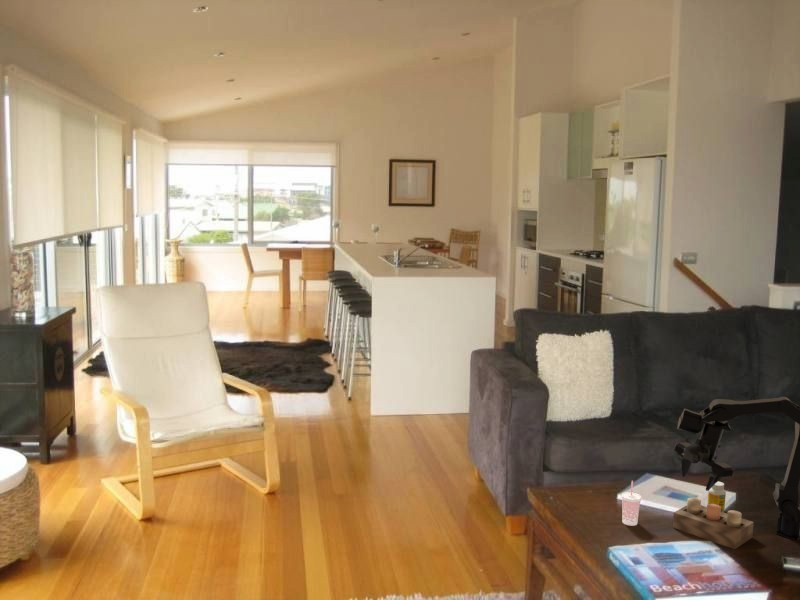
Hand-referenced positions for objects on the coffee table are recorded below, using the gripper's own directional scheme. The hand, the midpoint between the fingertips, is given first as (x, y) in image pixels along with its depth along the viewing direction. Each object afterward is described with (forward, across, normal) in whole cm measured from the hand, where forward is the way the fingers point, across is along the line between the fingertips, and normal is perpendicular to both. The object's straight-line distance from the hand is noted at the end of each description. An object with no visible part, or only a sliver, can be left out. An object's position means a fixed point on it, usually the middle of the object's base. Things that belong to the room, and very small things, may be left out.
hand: (695, 483), depth 256 cm
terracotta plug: (+8, +9, +1) cm, 12 cm away
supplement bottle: (+11, 0, +16) cm, 20 cm away
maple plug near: (+7, +16, +2) cm, 17 cm away
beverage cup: (+17, -8, -15) cm, 24 cm away
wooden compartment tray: (+12, +10, +1) cm, 15 cm away
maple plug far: (+9, +3, -1) cm, 10 cm away
